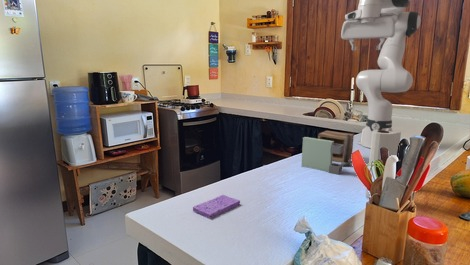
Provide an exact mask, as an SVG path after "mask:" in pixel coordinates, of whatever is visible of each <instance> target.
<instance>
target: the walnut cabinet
mask: <svg viewBox="0 0 470 265" xmlns="http://www.w3.org/2000/svg"><path fill="white" fill-rule="evenodd" d="M354 136H355V134H354V133H347V132H338V131H331V130H325V131H322V132H319V133H317V139H322V140H329V141H334V143H336V144H342V145H344V152H343V153H342V154H334V153H333V159H332V162H335V163H336V162H337V163H340V164H341V165H343V167H347V168H349V167H351V159H352V158H351V154H352V155H353V149H354V148H353V146H354Z"/></svg>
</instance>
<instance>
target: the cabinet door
mask: <svg viewBox="0 0 470 265" xmlns="http://www.w3.org/2000/svg"><path fill="white" fill-rule="evenodd" d="M301 147H302V148H301V151H302V152H301V167H302V168H303V167H304V168H309V169H313V170H318V171H322V172H326V173H328V174H332V175H333V174H334V175H337V176H338V175H340V174H342V173H343V167H344V166H343V165H341V163H336V162H335V163H334V162H333V161H332V159H333V153H334V154H342V153H343V152H344V145H342V144H336V143H334V141H329V140H322V139H318V138H316V137H309V136H304V137H302V146H301Z"/></svg>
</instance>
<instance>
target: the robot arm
mask: <svg viewBox="0 0 470 265" xmlns="http://www.w3.org/2000/svg"><path fill="white" fill-rule="evenodd" d="M410 1H411V0H359V2H358V6H357V9H356V10H354V11H352V12H349V13H346V14H345V16H344V19H345V20H344V22H343V23H342V26H341V32H340V33H341V34H340V38H341V39H342V40H348V41H349V44H350V46H351V51H357V45H355V44H354V42H355V40H365V39H366V40H368V39H379V41H380V42H379V44H377V45H376V46H375V47H376V48H375V51H380V52H379V55H378V58H377V66H378V67H379V68H380V69H365V70H362V71H361V70H360V72H359V73H358V74H357V76H356V78H355V84H356V86H357V88H358V89H359V90H360V91H361V92H362V94H364V96H365V97H366V101H367V118H366V120H365V125H366V126H365V127H364V128H362V130H361V131H362V132H361V139H360V141H359V140H358V141H357V144H358V145H360V146H362V147H363V148H369V149H371V138H372V131H373V130H386V129H387V128H390V129H391V132H394V131H393V129H392V127H393V120H392V119H393V118H392V116H393V108H394V106H393V103H392V102H391V101H390V100H388V99H385V97H383V95H382V93H392V94H393V93H404V92H408V91H409V90H410V88H411V87H412V86H413V82H414V79H413V75H412V74H411V73H410V71H408V70H406V69H405V68H404V67H403V65H402V63H403V58H404V54H405V50H406V38H411V37H412V35H414V34H416V33H417V31H418V30H419V27H420V25H421V17H420V16H421V15H420V13H419V12H418V11H414V10H413V11H404V10H405V8H407V7H408V6H410Z"/></svg>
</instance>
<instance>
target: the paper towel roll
mask: <svg viewBox="0 0 470 265" xmlns="http://www.w3.org/2000/svg"><path fill="white" fill-rule="evenodd" d="M401 135H402V132H401V131H400V132H394V131H393V132H391V131H386V130H373V131H372V138H371V148H369V149H370V150H369V151H370V152H369V159H368V160H369V161H368V162H369V163H370V162H372V161H374V160H378V159H380V148H381V147H387V148H388V151H389V156H391V155H397V149H398V145H399V143H400V142H401ZM400 144H401V143H400ZM399 146H400V145H399ZM369 163H368V164H369ZM369 196H370V194H369V192H368V190H367V188H366V192H365V197H366V198H367V199H368V197H369Z"/></svg>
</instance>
